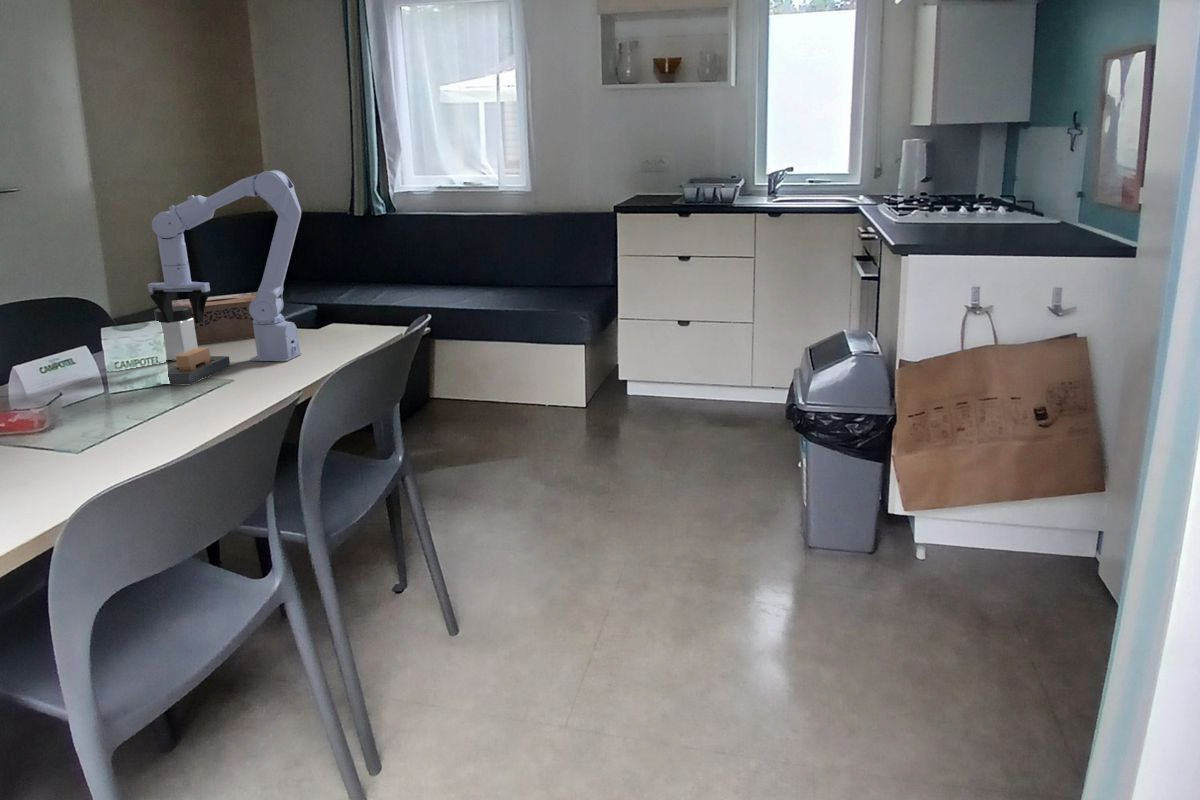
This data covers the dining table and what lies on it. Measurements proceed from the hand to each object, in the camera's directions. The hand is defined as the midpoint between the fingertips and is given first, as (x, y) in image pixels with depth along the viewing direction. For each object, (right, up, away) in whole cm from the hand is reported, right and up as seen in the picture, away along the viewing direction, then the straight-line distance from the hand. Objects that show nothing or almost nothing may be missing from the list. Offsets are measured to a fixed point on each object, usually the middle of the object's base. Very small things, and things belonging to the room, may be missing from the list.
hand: (184, 322), depth 215 cm
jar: (-5, -8, +10) cm, 14 cm away
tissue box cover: (-5, -1, +33) cm, 33 cm away
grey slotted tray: (+7, -13, -9) cm, 17 cm away
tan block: (+7, -13, -9) cm, 17 cm away
